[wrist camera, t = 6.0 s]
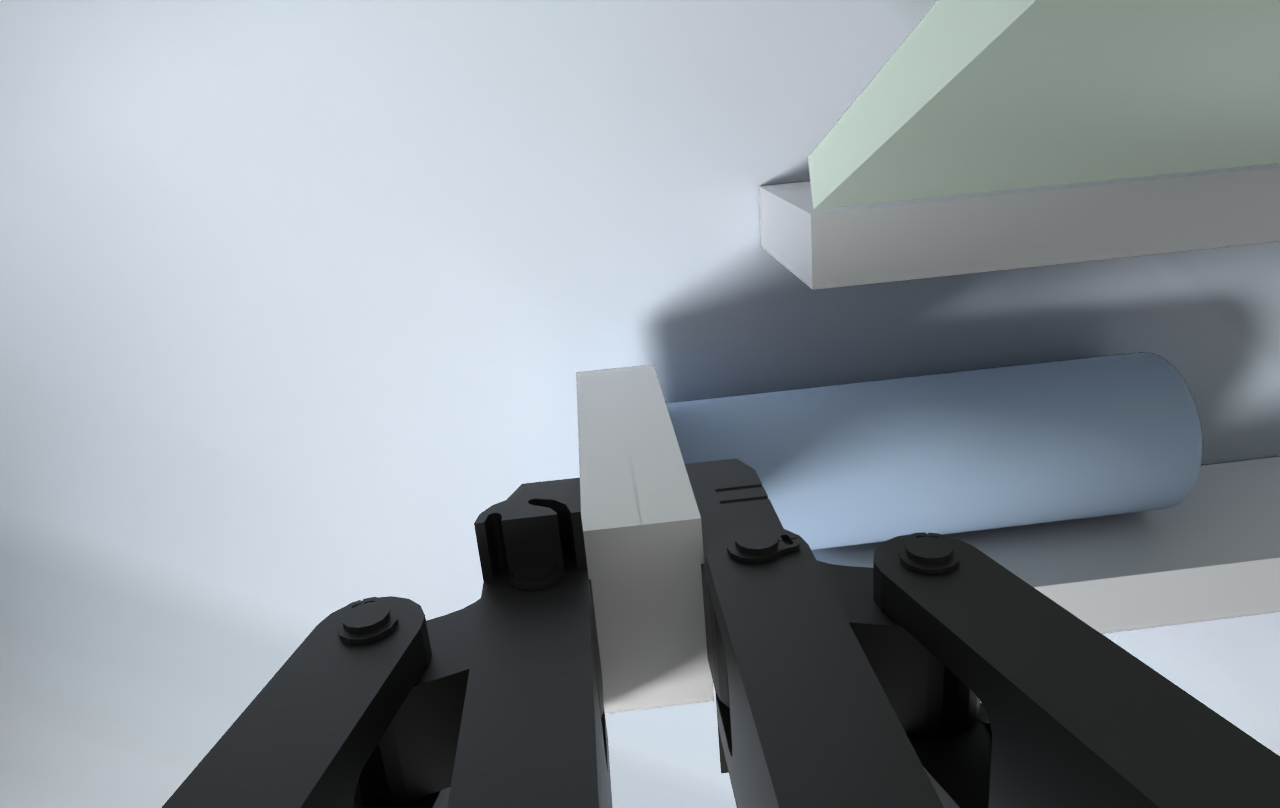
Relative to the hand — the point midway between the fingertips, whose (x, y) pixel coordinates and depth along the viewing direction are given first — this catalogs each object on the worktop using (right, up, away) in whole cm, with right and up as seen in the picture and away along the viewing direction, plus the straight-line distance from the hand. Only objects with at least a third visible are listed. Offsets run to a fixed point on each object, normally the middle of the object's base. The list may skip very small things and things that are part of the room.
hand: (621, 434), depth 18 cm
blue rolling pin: (+6, +1, +1) cm, 6 cm away
